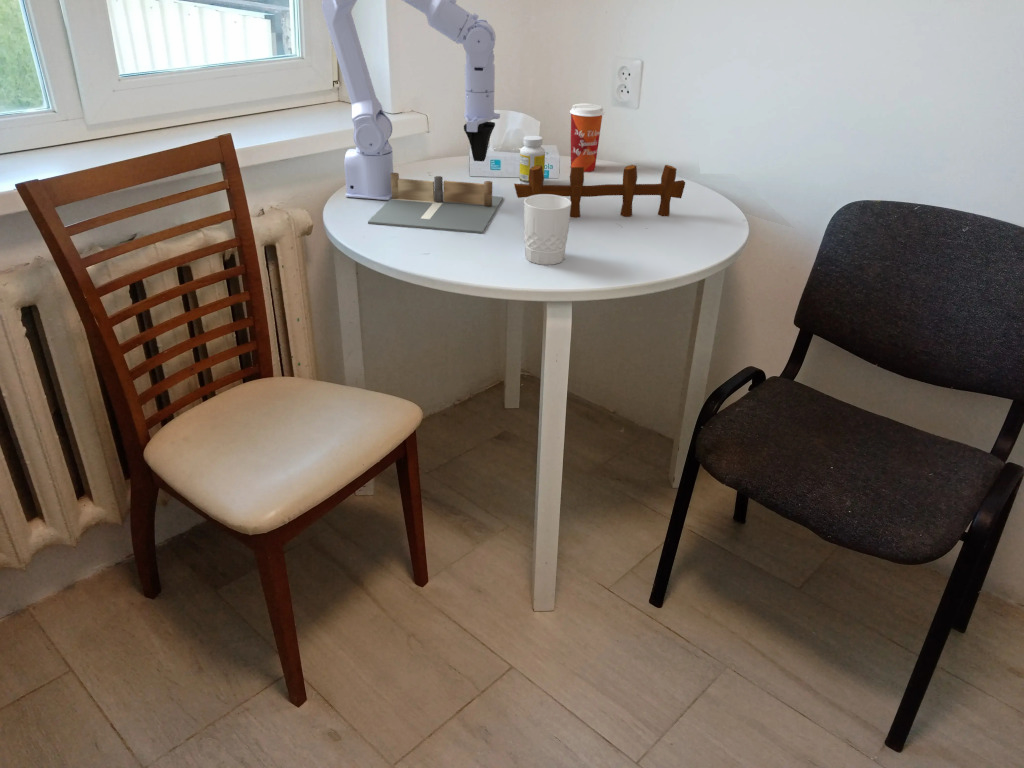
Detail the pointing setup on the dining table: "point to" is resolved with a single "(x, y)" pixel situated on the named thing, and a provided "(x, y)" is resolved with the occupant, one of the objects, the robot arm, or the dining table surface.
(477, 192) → the fence gate
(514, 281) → the dining table surface
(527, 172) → the supplement bottle
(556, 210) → the white cup
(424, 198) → the fence base
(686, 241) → the dining table surface
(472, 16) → the robot arm
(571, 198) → the fence
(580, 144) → the paper cup
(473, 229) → the board
